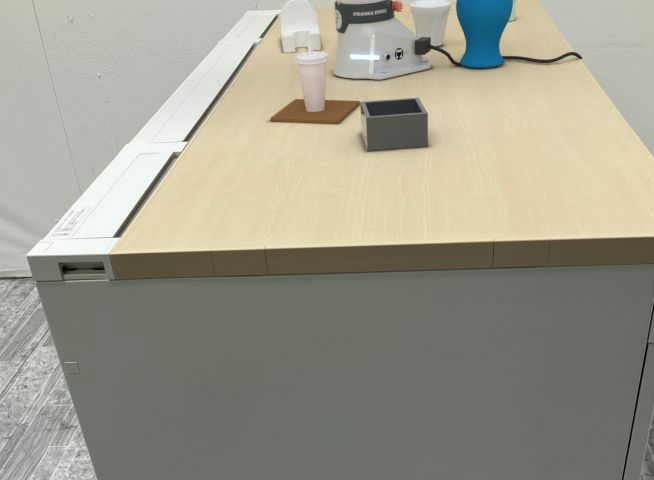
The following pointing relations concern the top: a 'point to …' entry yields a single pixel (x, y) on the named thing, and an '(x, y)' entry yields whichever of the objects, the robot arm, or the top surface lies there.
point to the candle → (513, 11)
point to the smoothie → (312, 77)
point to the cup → (431, 19)
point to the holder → (394, 124)
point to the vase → (483, 30)
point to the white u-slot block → (299, 25)
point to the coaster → (331, 113)
